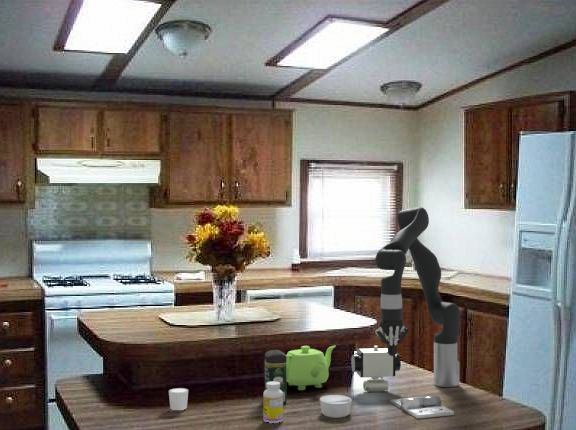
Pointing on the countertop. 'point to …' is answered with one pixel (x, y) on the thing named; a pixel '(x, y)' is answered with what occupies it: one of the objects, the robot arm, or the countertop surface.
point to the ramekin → (335, 405)
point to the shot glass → (178, 398)
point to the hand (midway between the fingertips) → (392, 355)
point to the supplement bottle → (273, 403)
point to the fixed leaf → (426, 400)
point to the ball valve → (375, 367)
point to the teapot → (308, 367)
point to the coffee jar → (276, 370)
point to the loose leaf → (423, 409)
